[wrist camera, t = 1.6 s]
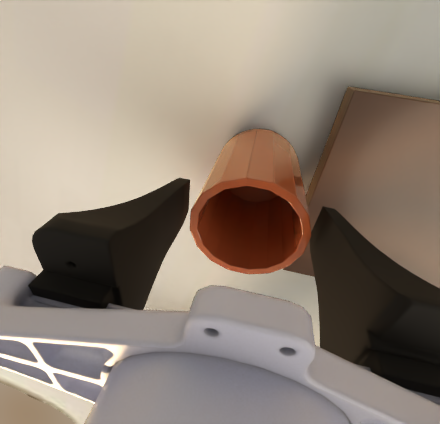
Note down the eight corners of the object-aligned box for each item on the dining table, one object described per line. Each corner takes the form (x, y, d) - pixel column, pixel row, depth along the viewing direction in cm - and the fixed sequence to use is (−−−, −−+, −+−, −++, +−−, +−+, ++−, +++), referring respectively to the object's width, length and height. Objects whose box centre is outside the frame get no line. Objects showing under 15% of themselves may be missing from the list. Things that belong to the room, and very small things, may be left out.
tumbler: (285, 208, 19) (290, 284, 13) (214, 194, 20) (187, 261, 14) (309, 136, 16) (330, 193, 10) (223, 121, 16) (193, 166, 10)
